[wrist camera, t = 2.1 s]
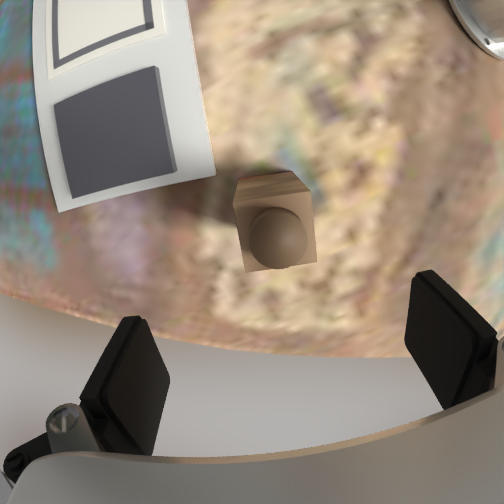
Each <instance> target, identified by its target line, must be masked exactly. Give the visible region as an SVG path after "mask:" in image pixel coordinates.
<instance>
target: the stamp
mask: <svg viewBox="0 0 504 504" xmlns="http://www.w3.org/2000/svg"><path fill="white" fill-rule="evenodd" d="M232 203H233V208H234V214H235V219H236V224H237V230H238V235H239V241H240V246H241V251H242V256H243V262H244V267H245V272H246V273H247V272H254V271H261V270H268V269H284V268H288V267H290V266H295V265H301V264H308V263H314V262H317V254H316V242H315V231H314V220H313V210H312V201H311V192H310V190H309V189H308V188H307V187H306V186H305V185H304V183H303V182H302V181H301V180H300V179H299V178H298V177H297V176H296V175H295V174H294V173H293V171H288V172H281V173H274V174H267V175H260V176H253V177H247V178H241V179H239V180H238V184H237V188H236V191H235V195H234V199H233V202H232Z"/></svg>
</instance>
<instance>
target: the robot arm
mask: <svg viewBox="0 0 504 504" xmlns="http://www.w3.org/2000/svg"><path fill="white" fill-rule="evenodd" d="M449 2H450V4H451V7H452V9H453V11H454V13H455V15H456V16H457V18H458V20H459V21H460V23H461V24H462V26H463V27H464V29H465V30H466V32H467V33H468V34H469V35H470V37H471V38H472V39H473V40H474V41H475V42H476V43H477V44H478V45H479V46H480V47H481V48H482V49H483V50H484V51H485V52H487V53H488V54H490V55H491V56H493V57H494V58H497V59H499V60H503V61H504V0H449ZM496 335H497V332H496V331H495V329H494V328H493V327H492V326H491V325H490V324H489V323H488V322H487V321H486V320H485V319H484V318H483V317H482V316H481V315H480V314H479V313H478V312H477V311H476V310H475V309H474V308H473V307H472V306H471V305H470V304H469V303H468V302H467V301H466V300H465V299H463V298H462V297H461V296H460V295H459V294H458V293H457V292H456V291H455V290H454V289H453V288H452V287H451V286H450V285H449V284H447V283H446V282H445V281H444V280H443V279H442V278H441V277H440V276H439V275H438V274H436V273H435V272H434V271H433V270H426V271H422V272H418V273H416V275H415V277H413V278H412V282H411V291H410V301H409V309H408V317H407V324H406V331H405V338H404V340H405V345H406V347H407V349H408V351H409V352H410V354H411V355H412V357H413V359H414V360H415V362H416V363H417V365H418V367H419V368H420V370H421V372H422V373H423V375H424V377H425V378H426V380H427V382H428V384H429V385H430V387H431V389H432V390H433V392H434V394H435V396H436V397H437V399H438V401H439V403H440V404H441V406H442V408H443V409H444V410H443V411H441V412H438V413H436V414H433V415H430V416H428V417H425V418H422V419H419V420H416V421H413V422H410V423H408V424H404V425H401V426H398V427H395V428H392V429H388V430H385V431H381V432H378V433H374V434H370V435H367V436H362V437H358V438H354V439H350V440H346V441H342V442H337V443H332V444H327V445H321V446H316V447H310V448H304V449H298V450H291V451H284V452H276V453H266V454H256V455H244V456H226V457H164V456H151V455H152V453H153V449H154V445H155V440H156V436H157V432H158V428H159V424H160V420H161V416H162V412H163V408H164V404H165V400H166V396H167V392H168V388H169V384H170V376H169V373H168V371H167V368H166V366H165V364H164V362H163V360H162V357H161V355H160V353H159V350H158V348H157V345H156V343H155V341H154V338H153V336H152V333H151V331H150V328H149V326H148V323H147V321H146V320H145V319H142V318H141V317H140V316H128V317H124V318H123V319H122V320H121V322H120V324H119V326H118V327H117V329H116V331H115V333H114V334H113V336H112V338H111V339H110V342H109V343H108V345H107V347H106V348H105V350H104V352H103V354H102V356H101V357H100V359H99V361H98V363H97V365H96V367H95V369H94V371H93V372H92V374H91V376H90V378H89V380H88V382H87V384H86V386H85V387H84V390H83V391H82V393H81V395H80V397H79V398H80V400H81V403H80V405H79V406H78V405H76V404H72V403H67V404H63V405H60V406H58V407H57V408H55V409H54V410H53V411H52V412H51V413H50V414H49V416H48V418H47V420H46V430H47V432H46V433H44V434H42V435H40V436H38V437H36V438H34V439H32V440H31V441H29V442H27V443H25V444H23V445H21V446H19V447H17V448H15V449H14V450H12V451H11V452H10V453H9V454H8V455H7V456H6V459H5V460H4V465H3V468H4V472H2V471H1V470H0V504H504V337H502V338H501V339H500V340H499V341H498V340H497V338H496Z"/></svg>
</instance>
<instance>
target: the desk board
mask: <svg viewBox="0 0 504 504" xmlns="http://www.w3.org/2000/svg"><path fill="white" fill-rule="evenodd" d="M32 42H33V70H34V83H35V94H36V103H37V111H38V119H39V125H40V132H41V138H42V143H43V149H44V154H45V159H46V163H47V168H48V173H49V177H50V181H51V185H52V189H53V193H54V197H55V201H56V204H57V208H58V212H63V211H66V210H70V209H73V208H77V207H80V206H84V205H87V204H91V203H95V202H99V201H102V200H106V199H110V198H114V197H118V196H122V195H126V194H130V193H134V192H139V191H143V190H147V189H152V188H156V187H161V186H165V185H170V184H175V183H179V182H184V181H189V180H194V179H200V178H205V177H210V176H215V175H216V174H217V173H216V167H215V162H214V156H213V151H212V146H211V140H210V135H209V129H208V123H207V118H206V112H205V107H204V101H203V95H202V89H201V84H200V78H199V72H198V66H197V60H196V54H195V48H194V42H193V35H192V29H191V23H190V17H189V10H188V4H187V0H34V3H33V30H32Z"/></svg>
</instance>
